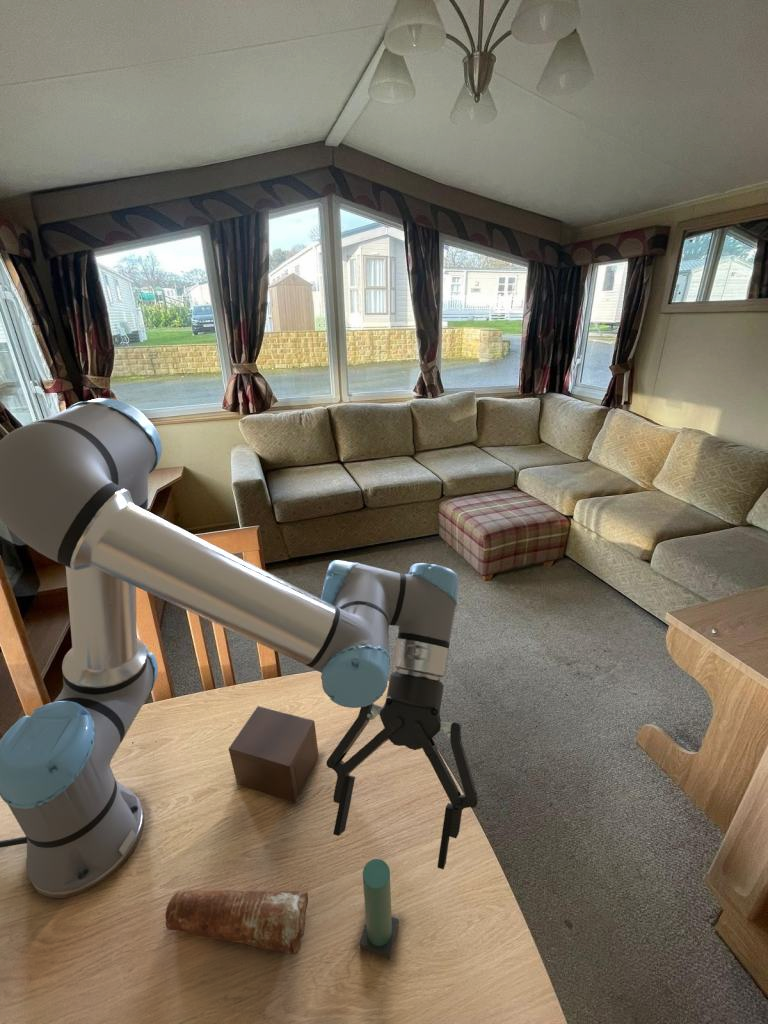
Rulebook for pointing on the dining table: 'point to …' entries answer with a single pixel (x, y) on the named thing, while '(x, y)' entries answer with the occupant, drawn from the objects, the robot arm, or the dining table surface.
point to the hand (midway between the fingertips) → (388, 848)
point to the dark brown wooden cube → (275, 753)
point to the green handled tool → (378, 910)
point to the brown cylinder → (242, 916)
